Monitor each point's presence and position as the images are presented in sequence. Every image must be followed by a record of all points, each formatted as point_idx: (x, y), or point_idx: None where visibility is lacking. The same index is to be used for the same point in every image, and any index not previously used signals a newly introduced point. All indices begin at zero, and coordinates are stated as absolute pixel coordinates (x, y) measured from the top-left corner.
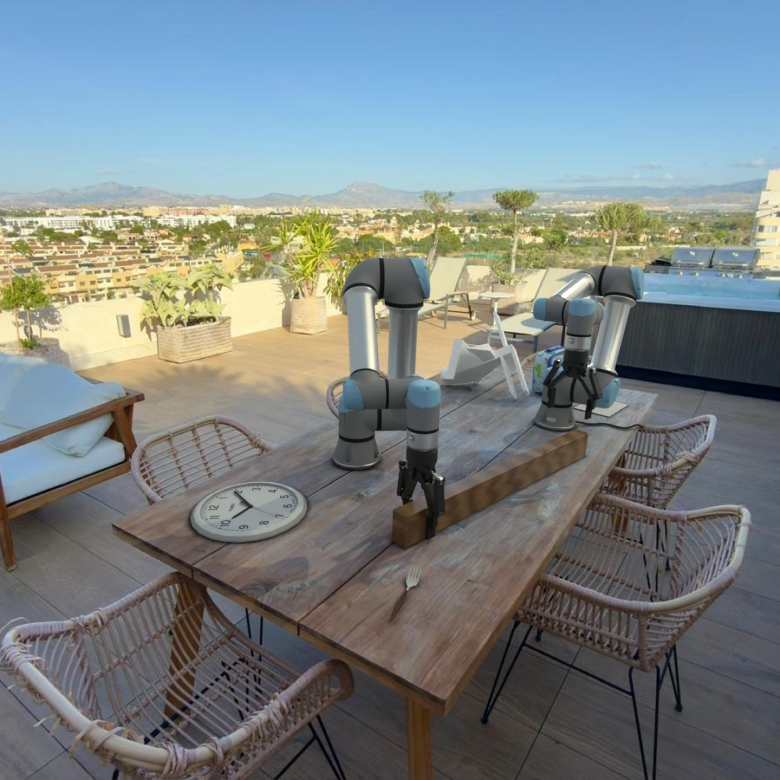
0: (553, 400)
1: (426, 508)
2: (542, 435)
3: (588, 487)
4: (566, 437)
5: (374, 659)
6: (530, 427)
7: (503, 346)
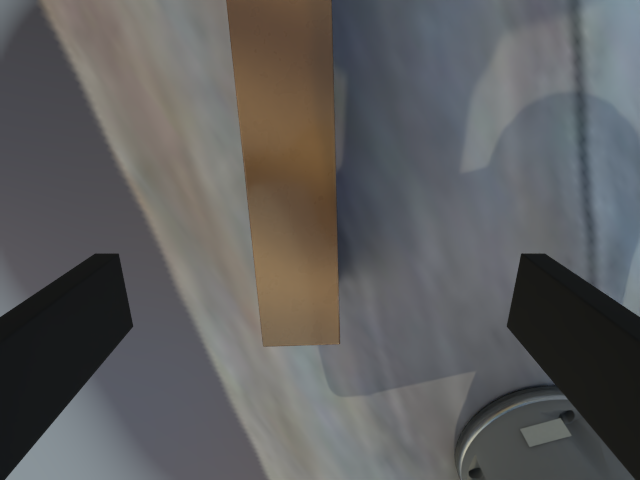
0: (551, 348)
1: None
2: None
3: (62, 7)
4: (298, 196)
5: None
6: None
7: None
